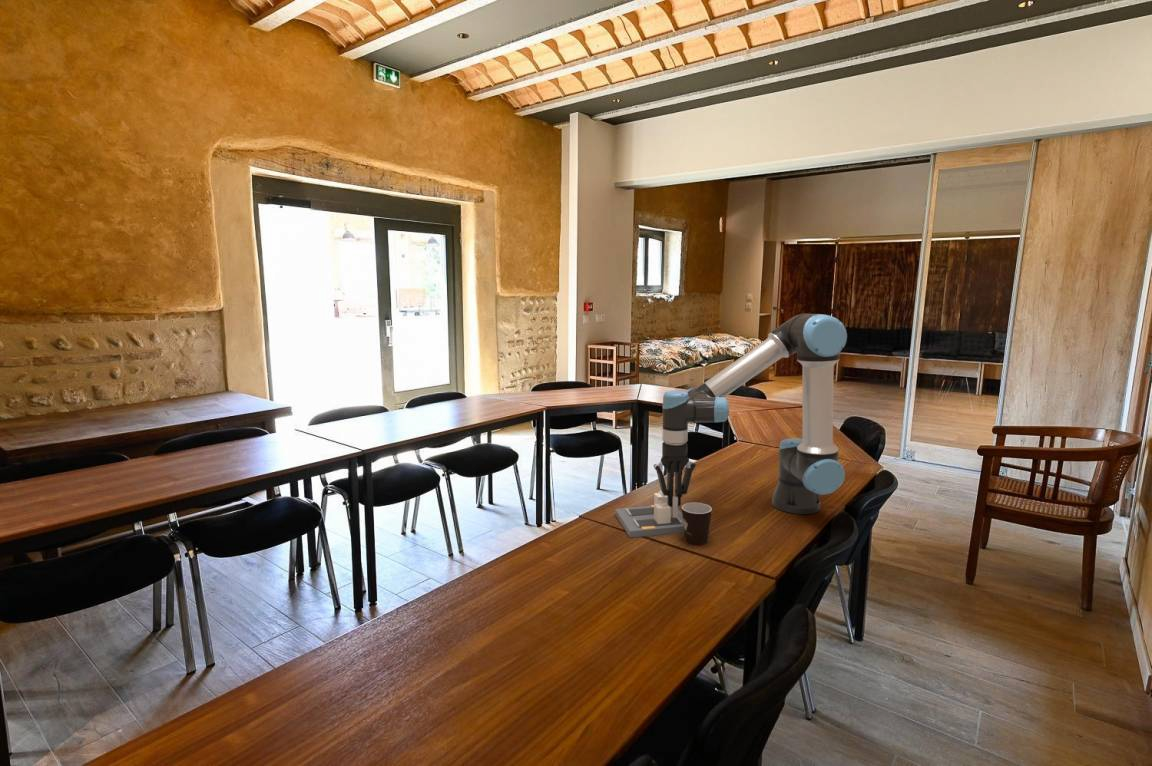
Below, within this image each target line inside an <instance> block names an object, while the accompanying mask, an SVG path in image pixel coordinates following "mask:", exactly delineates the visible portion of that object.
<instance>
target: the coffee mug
mask: <svg viewBox="0 0 1152 766" xmlns="http://www.w3.org/2000/svg"><path fill="white" fill-rule="evenodd" d="M712 510H713V508H712V507H711V506H710V505H709V504H706V503H703V502H686V503H684V504H682V505H681V512H682V515H683V524H684V540H685V542H686V543H688V544H689V545H694V546H703V545H706V544H707V543H708V539H709V534H710V525H711V518H712V512H713V511H712Z"/></svg>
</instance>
